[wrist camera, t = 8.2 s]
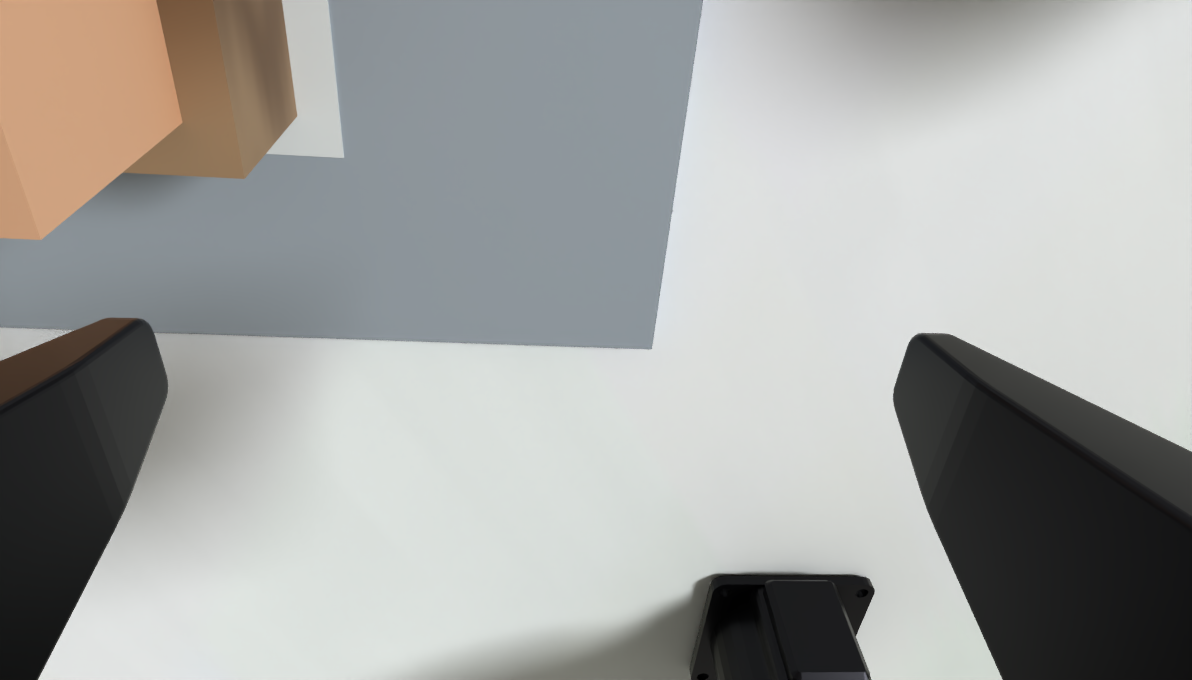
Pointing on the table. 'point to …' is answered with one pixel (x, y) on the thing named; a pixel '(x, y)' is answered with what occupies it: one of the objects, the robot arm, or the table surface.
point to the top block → (76, 103)
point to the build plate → (409, 188)
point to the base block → (223, 87)
